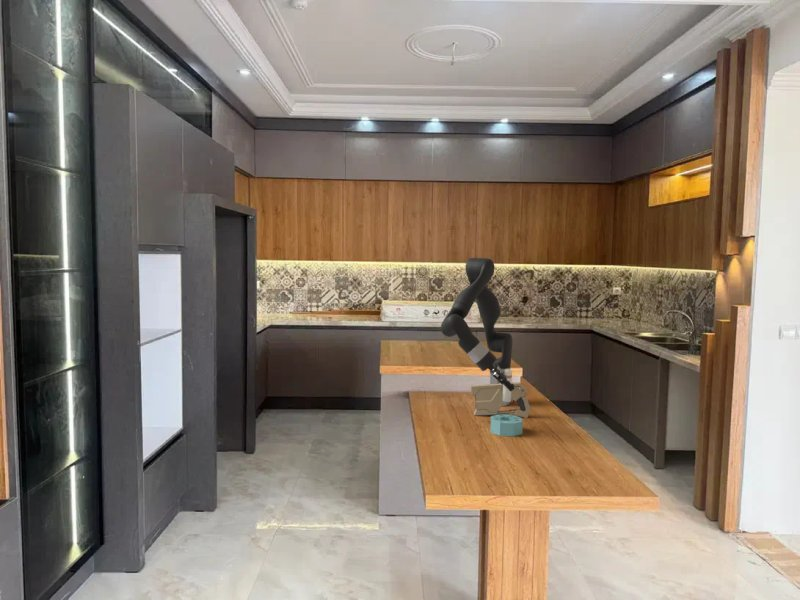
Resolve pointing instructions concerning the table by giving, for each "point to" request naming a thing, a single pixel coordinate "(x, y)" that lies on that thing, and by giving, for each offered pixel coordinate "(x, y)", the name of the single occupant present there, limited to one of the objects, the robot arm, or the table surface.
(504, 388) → the striped domed peg
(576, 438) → the table surface
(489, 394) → the gun
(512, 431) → the bead
